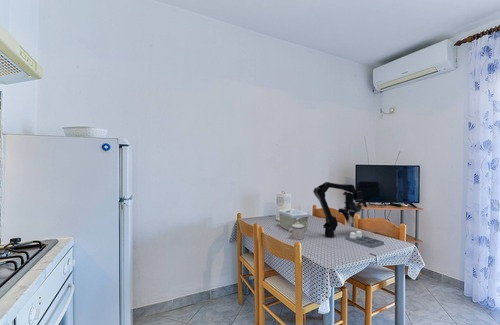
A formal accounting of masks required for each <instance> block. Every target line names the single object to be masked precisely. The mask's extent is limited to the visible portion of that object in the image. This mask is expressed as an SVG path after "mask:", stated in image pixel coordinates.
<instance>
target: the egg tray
mask: <svg viewBox="0 0 500 325" xmlns="http://www.w3.org/2000/svg"><path fill="white" fill-rule="evenodd" d="M345 241H348V242H352V243H355V244H357V245H361V246H363V247H367V248H369V249H373V248H376V247H380V246H383V245H385V241H384V240H380V239H377V238H374V237H370V236H366V235H364V234H362V237H360V238H359V237H356V239H352V238H350V235H348V236H345Z"/></svg>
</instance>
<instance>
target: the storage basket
mask: <svg viewBox="0 0 500 325" xmlns="http://www.w3.org/2000/svg"><path fill="white" fill-rule="evenodd" d="M278 215H279V216H278V217H279V226H280V227H281V228H282V229H285V230H287V231H289V230H290V229H292V225H294V224H296V223H297V222H299V224H301V225H303V226H304V232H307V230H308V220H309V213H307V212H305V211H301V210H298V209H296V208H288V209H287V208H286V209H279V211H278ZM290 233H292V230H291V231H290Z"/></svg>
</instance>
